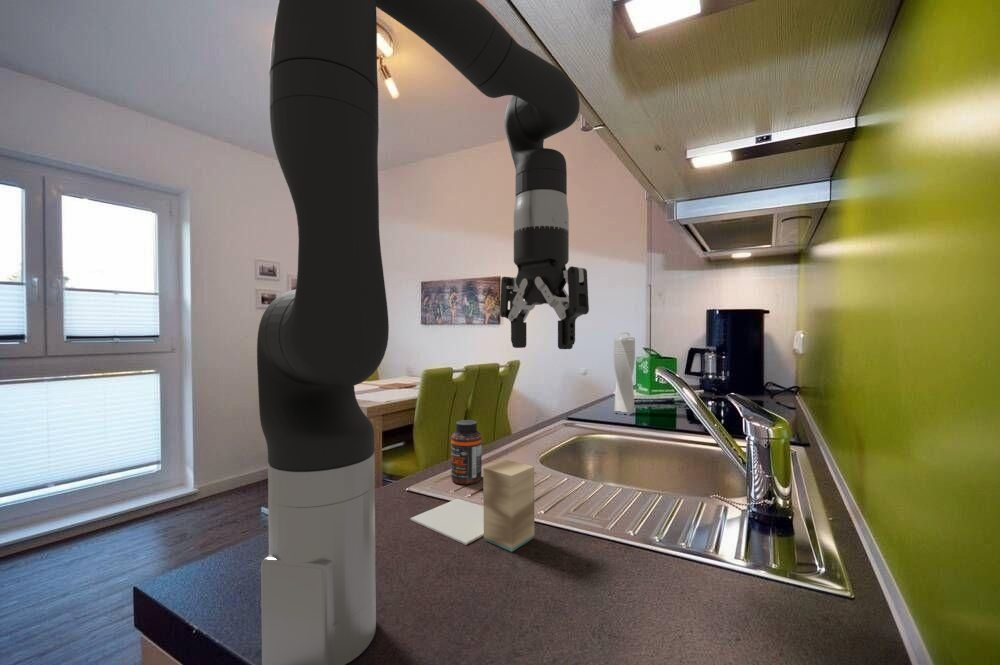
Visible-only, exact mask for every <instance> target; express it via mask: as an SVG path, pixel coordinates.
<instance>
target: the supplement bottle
mask: <svg viewBox="0 0 1000 665" xmlns="http://www.w3.org/2000/svg"><path fill="white" fill-rule="evenodd" d="M455 425H456V426H455V429H456V430H455V432H453V433H452V435H451V436H450V476H451V477H450V479H451V481H452V482H454V483H456V484H458V483H459V485H473V484H476V483H478V482H479V481H481V480H482V472H483V468H482V465H483V463H482V458H483V457H482V456H483V455H482V451H483V450H482V443H483V442H482V435H481V432H479V431H478V429H477V426H478V425H477V421H475V420H472V419H470V420H469V419H463V420H459V421H456V423H455Z"/></svg>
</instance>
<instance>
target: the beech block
mask: <svg viewBox="0 0 1000 665" xmlns="http://www.w3.org/2000/svg"><path fill="white" fill-rule="evenodd" d="M482 472H483V475H482V476H483V478H482V480H483V486H482V487H483V490H482V491H483V492H482V493H483V508H484V536H483V540H484V541H485V542H488V543H490V544H493V545H495V546H497V547H500V548H502V549H505V550H507V551H509V552H514V551H515V550H517V549H519V548H520V547H522V546H524V545H526V544H527V543H528V542H531V541H532V540H533V539H534V538H535V466H532V465H529V464H524V463H521V462H516V461H513V460H508V459H505V460H502V461H499V462H497V463H494V464H491V465H488V466H486V467H483V468H482Z"/></svg>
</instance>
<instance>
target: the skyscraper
mask: <svg viewBox="0 0 1000 665" xmlns="http://www.w3.org/2000/svg"><path fill="white" fill-rule="evenodd" d="M620 335H627V336H625V337H624V336H622V337H621V336H620ZM630 335H631V334H630V333H629V332H620V333H618V334H617V335H616V336H614V338H613V352H612V353H613V366H614V368H613V369H614V372H615V378H616V379H615V380H616V381H615V390H614V392H615V394H614V407H613V408H614V410H613V411H621V412H631V411H634V412H635V394H634V393H635V392H634V383H633V375H634V368H635V362H636V360H635V359H636V338H635V337H630ZM619 336H620V337H619ZM617 337H619V339H617Z"/></svg>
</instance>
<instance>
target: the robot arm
mask: <svg viewBox="0 0 1000 665" xmlns="http://www.w3.org/2000/svg"><path fill="white" fill-rule="evenodd" d="M377 9H379V10H380V11H382V12H383V13H384V14H386V15H388V16H389V17H390V18H392V19H393V20H395V21H397V22H398V23H400V25H402V26H404V28H406V29H408V30H409V31H411V32H412V33H413V34H415V35H416V36H417V37H418V38H420V39H421V40H423V41H424V42H425V43H426V44H428V45H429V46H430V47H432V48H433V50H435V51H436V52H437V53H438V54H440V56H442V57H443V58H444V59H446V61H447V62H448V63H449V64H450V65H451V66H453V67H454V68H455V69H456V70H457V71H458V72H459V73H460V74H461V75H463V77H464V78H465V79H466V80H468V81H469V82H470V83H471V85H473V86H474V87H475V88H476V89H477V90H478V91H480V93H482V94H483V95H484V96H486V97H487V98H492V99H497V98H502V97H504V96H505V97H506V96H512V97H511V98H510V100H509V101H508V103H507V105H506V109H505V112H504V119H503V122H504V130H505V134H506V138H507V141H508V146H509V149H510V153H511V158H512V161H513V164H514V169H515V203H514V211H513V263H514V265H516V268H517V275H516V276H515V277H514V276H512V277H511V276H503V277H501V279H500V280H501V281H500V302H499V304H500V305H499V306H500V307H499V315H500V317H501V318H506V320H507V319H508V321H510V342H511V345H512V348H514V349H524V348H527V322H526V319H527V317H528V315H529V314H530V312H531V311H532V310H534V309H535V306H537V305H538V306H540V305H544V304H546V305H549V307H551V308H552V309H553V310H554V311H555V314H556V315H557V317H558V320H557V347H558V349H559V350H571V349H573V346H574V345H575V343H576V320H577V319H578V318H579V317H581V316H583V315H585V316H586V315H587V314H589V311H590V305H589V303H590V302H589V286H588V284H589V283H588V270H587V269H586V268H584V267H578V266H569V267H568V268H567V266H566V265H567V264H568V262H569V258H570V256H569V254H570V252H569V251H570V250H569V249H570V248H569V246H570V245H569V236H570V235H569V234H570V233H569V231H570V230H569V229H570V227H569V226H570V225H569V224H570V223H569V221H570V218H569V207H568V199H567V198H568V196H567V195H568V193H567V191H568V190H567V189H568V186H567V185H568V184H567V183H568V182H567V178H568V177H567V175H568V174H567V173H568V172H567V160H566V158H565V155H564V154H563V153H562V152H561V151H559V150H557V149H554V148H549V147H548V148H547V147H546V148H544V142H545V140H547V139H549V138H551V137H552V136H554V135H557V134H559V133H562V131H565V130H567V129H568V128H570V127H571V126H572V125H573V124H574V123H575V122H576V120H577V119H578V117H579V113H580V107H581V104H580V103H581V102H580V97H579V96H580V95H579V92H578V91H577V88H576V87H575V85H574V83H573V81H572V80H571V79H570V78H569V76H568V75H566V74H565V73H564V72H563V71H562V70H561V69H559V68H558V67H557V66H555V65H553V64H552V63H551V62H549V61H548V60H545V59H544V58H543V57H541V56H539V55H537V54H536V53H534V52H532V51H531V50H529V49H528V48H526V47H524V46H522V45H520V44H519V43H518V42H517V41H516V40H515V38H514V37H513V36H511V34H510V33H509V32H508V31H507V29H506V28H505V27H504V26H503V25H502V24H501V23H500V22H499V21H498V20H497V19H496V18H495V16H494V15H493V14H492V13H491V12H490V11H489V9H487V8H486V7H485V6H484V5H483V3H481V2H479V1H478V0H277V6H276V11H275V16H274V24H273V32H272V38H271V39H272V40H271V45H270V46H271V47H270V53H269V54H270V56H269V73H268V74H269V76H268V77H269V122H270V131H271V138H272V143H273V147H274V150H275V154H276V158H277V160H278V163H279V167H280V169H281V172H282V174H283V177H284V179H285V182H286V185H287V187H288V189H289V192H290V196H291V199H292V202H293V204H294V209H295V214H296V222H297V223H296V224H297V232H298V234H297V235H298V246H297V247H298V250H297V253H298V254H297V273H296V274H297V276H296V278H297V279H296V285H295V289H292V290H289V291H286V292H284V293H282V294H281V295H278V296H277V297H276V298H275V299H273V300H272V301H271V302H270V303H269V304H268V306H267V307H266V309H265V310H264V312H263V314H262V316H261V318H260V322H259V325H258V330H257V339H256V364H257V365H256V368H257V387H258V391H257V392H258V411H259V420H260V426H261V429H262V433H263V435H264V438H265V441H266V446H267V469H268V470H267V478H268V482H267V484H268V485H267V488H268V491H267V492H268V494H267V495H268V497H267V501H268V504H267V507H268V555H267V556H266V557H265V558H264V559H263V560H262V561H261V565H260V570H261V571H260V576H261V577H260V578H261V579H260V580H261V583H260V584H261V586H260V587H261V589H260V591H261V597H260V598H261V665H347V664H349V663H350V662H352V661H353V660H355V659H356V658H358V657H359V656H360V655H361V654H362V653H364V652H365V650H366V649H367V648H368V647H369V645H370V644H371V642H372V641H373V639H374V638H375V635H376V631H377V630H376V628H377V610H376V608H377V606H376V603H377V601H376V595H377V594H376V591H377V590H376V505H375V504H376V502H375V501H376V495H375V494H376V493H375V492H376V490H375V489H376V488H375V485H376V484H375V482H376V478H375V477H376V474H375V473H376V472H375V470H376V469H375V468H376V467H375V465H376V464H375V449H376V447H375V429H374V428H375V427H374V426H373V423H372V422H371V420H370V419H369V418H368V417H367V415H366V414H365V412H364V411H363V410H362V408H361V407H360V404H359V403H358V402H359V401H358V400H357V396H356V392H355V386H357V385H359V384H362V383H363V382H365V381H367V379H369V378H370V377H371V376H373V375H374V373H375V372H376V371H377V370H378V368H379V367H380V365H381V363H382V361H383V359H384V358H385V354H386V352H387V348H388V342H389V328H390V327H389V325H390V324H389V312H388V310H389V308H388V302H387V301H388V300H387V293H386V285H385V284H386V282H385V277H384V276H385V275H384V267H383V258H382V250H381V248H382V247H381V237H380V203H379V201H380V200H379V191H380V190H379V166H378V165H379V164H378V162H379V160H378V156H379V155H378V154H379V147H378V146H379V133H380V132H379V130H380V129H379V84H378V83H379V82H378V32H377V31H378V30H377V29H378V28H377V27H378V25H377V23H378V22H377ZM566 285H567V288H568V293H567V291H566V290H565V287H566ZM559 319H560V320H559Z"/></svg>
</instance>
